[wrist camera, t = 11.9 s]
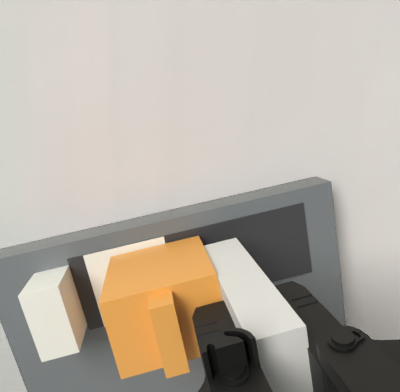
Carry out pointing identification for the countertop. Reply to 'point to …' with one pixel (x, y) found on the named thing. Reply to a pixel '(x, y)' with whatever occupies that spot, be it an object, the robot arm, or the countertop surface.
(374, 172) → the countertop surface
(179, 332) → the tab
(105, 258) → the switch board
